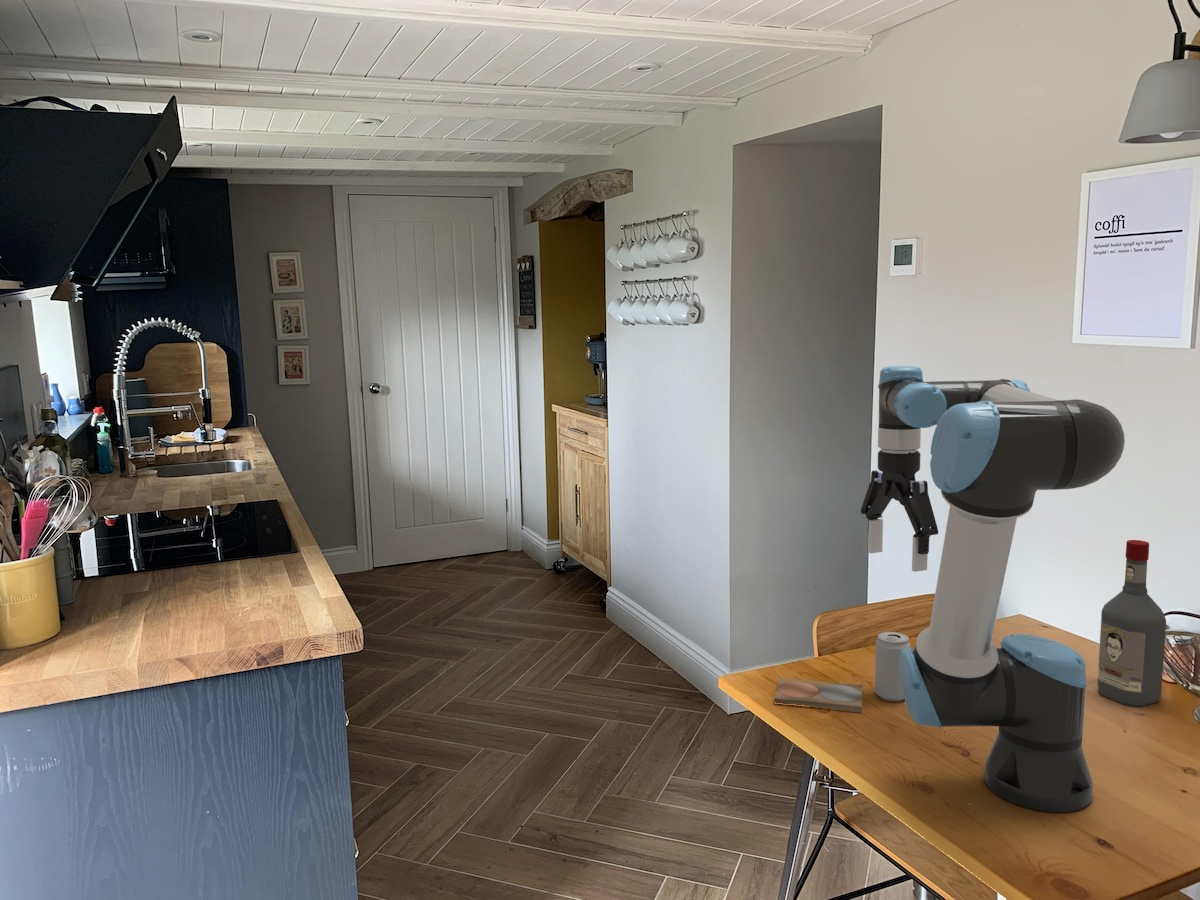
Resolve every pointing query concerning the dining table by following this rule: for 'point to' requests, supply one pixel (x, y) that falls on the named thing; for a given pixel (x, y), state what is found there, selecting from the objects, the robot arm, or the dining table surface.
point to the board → (820, 694)
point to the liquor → (1132, 637)
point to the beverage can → (889, 665)
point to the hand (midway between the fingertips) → (896, 561)
